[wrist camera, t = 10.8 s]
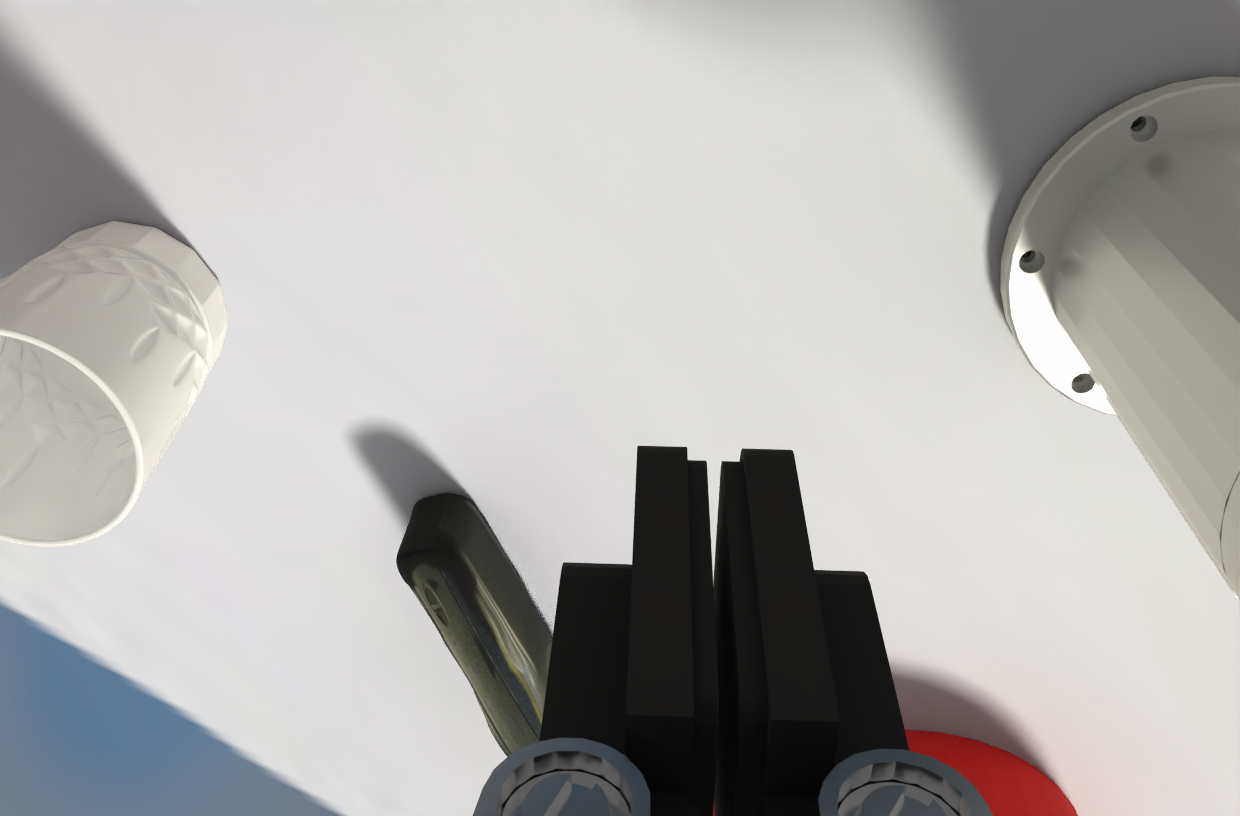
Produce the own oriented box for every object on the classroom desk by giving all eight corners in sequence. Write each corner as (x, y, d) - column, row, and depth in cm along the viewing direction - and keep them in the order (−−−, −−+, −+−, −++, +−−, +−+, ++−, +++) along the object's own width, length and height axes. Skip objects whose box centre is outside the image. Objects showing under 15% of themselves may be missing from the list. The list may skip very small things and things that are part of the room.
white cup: (5, 325, 45) (-154, 467, 36) (80, 162, 41) (-76, 276, 33) (194, 428, 47) (86, 586, 38) (280, 281, 43) (183, 418, 35)
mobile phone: (376, 569, 44) (547, 828, 51) (446, 544, 43) (610, 810, 50) (404, 497, 49) (557, 743, 55) (467, 474, 48) (616, 726, 54)
